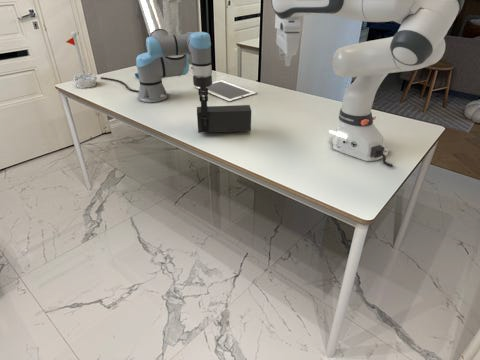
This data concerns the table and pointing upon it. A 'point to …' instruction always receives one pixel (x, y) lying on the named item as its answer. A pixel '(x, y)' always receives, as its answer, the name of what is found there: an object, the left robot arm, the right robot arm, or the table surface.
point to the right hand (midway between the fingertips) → (284, 62)
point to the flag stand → (82, 68)
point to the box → (226, 118)
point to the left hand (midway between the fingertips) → (205, 128)
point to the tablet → (228, 91)
